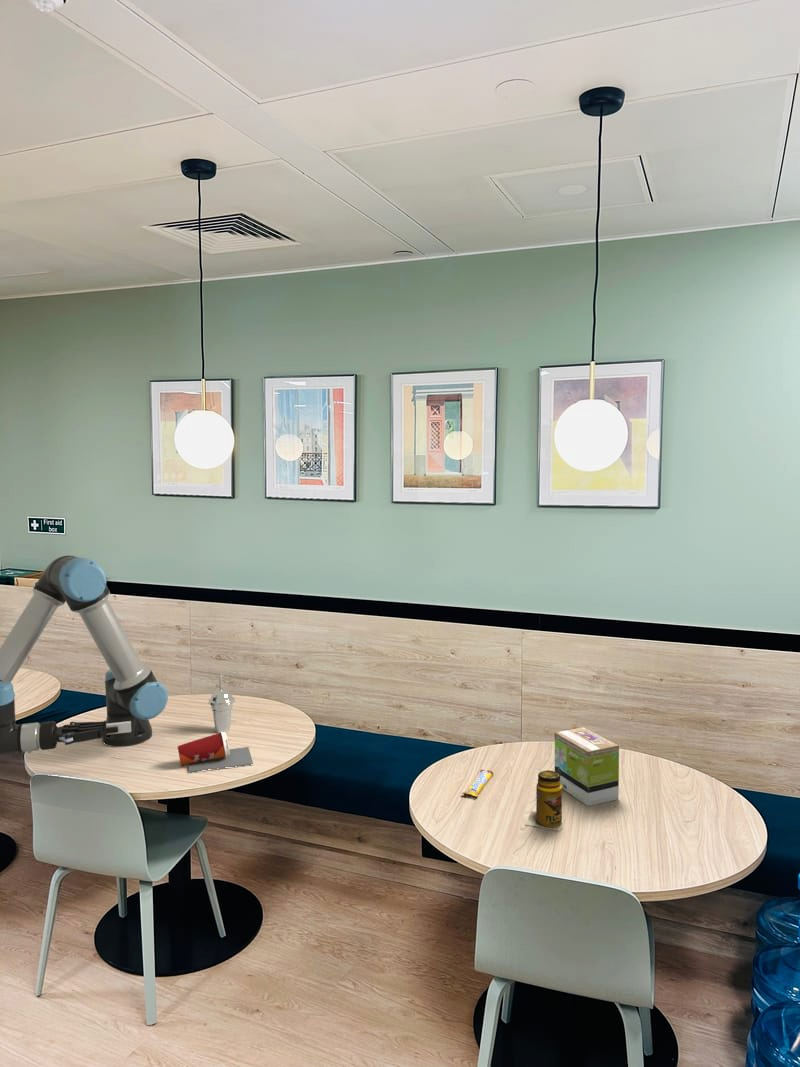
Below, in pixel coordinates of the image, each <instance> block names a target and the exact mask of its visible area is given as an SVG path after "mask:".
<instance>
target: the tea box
mask: <svg viewBox="0 0 800 1067" xmlns="http://www.w3.org/2000/svg"><path fill="white" fill-rule="evenodd" d="M619 769H620V744H617V743H615V742H613V741H611V740H609V739H608V738H605V737H604V736H602V735H600V734H598V733H595V732H594V731H593V730H590V729H588V728H587V727H584V726H582V727H577V728H573V729H568V730H567V729H566V730H561V731H557V732H556V731H555V732H554V771H555V772H557V773H558V774H559V775H560V782H561V783H560V784H561V786H562V790H564V791H565V792H566V793H569V795H571V796H573V797H574V798H575V799H577V800H578V801H580V802H582V804H585V805H586V806H587V807H590V806H591V807H592V806H595V805H599V804H603V803H607V802H612V801H615V800H619V790H620V788H619V781H620V780H619V779H620V778H619V777H620V776H619V775H620V770H619Z"/></svg>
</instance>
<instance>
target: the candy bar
mask: <svg viewBox="0 0 800 1067" xmlns="http://www.w3.org/2000/svg"><path fill="white" fill-rule="evenodd" d="M493 776H494V772H493V771H492V770H489V769H488V770H485V769H480V770H479V774H478V775H477V777H476V778H474V780H473V782H472V783H471V784H470V785H469V786H468V787H467V788H466V790H465V791H464V792H462V793H461V794H464V795H470V796H472V797H478V796H479V795H480V793H481V792H482V791H483V789H484V788H485V787H486V785H487V784H488V783H489V781H490V780H491V779H492V777H493Z"/></svg>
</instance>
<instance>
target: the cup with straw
mask: <svg viewBox="0 0 800 1067" xmlns="http://www.w3.org/2000/svg"><path fill="white" fill-rule="evenodd" d="M236 673H238V672H237V670H232V671H227V672H224V673H220V674H219V677H218V678H219V680H218V681H219V689H217V690H215V691H214V692H213V693H212V694H211V696H210V698H209V699H208V705H209V706H210V707H211V712H212V715H213V717H212V718H213V724H214V729H215V732H216V733H217V732H218V733H220V732H226V733H228V732H230V731H231V730H230V727H231V719H232V710H233V704H234V703H235V702H236V701H235V697H233V695H232V693H231V692H230V691H229V690H227V689H226V688H222V687H223V684H222V683H223V680H222V678H223V676H226V675H232V674H236ZM229 730H230V731H229ZM218 733H217V734H218Z"/></svg>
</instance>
